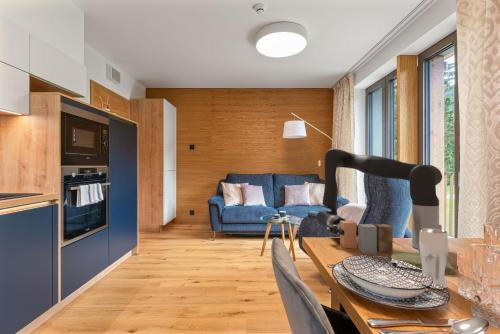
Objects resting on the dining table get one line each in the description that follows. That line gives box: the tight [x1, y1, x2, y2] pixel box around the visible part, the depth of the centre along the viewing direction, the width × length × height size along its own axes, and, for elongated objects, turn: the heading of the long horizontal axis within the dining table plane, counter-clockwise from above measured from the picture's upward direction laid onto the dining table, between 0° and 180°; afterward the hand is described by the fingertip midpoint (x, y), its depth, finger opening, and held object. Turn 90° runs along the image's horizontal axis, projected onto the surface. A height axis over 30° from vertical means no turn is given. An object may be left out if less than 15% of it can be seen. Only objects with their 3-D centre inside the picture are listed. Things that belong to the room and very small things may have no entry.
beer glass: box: [418, 228, 449, 288], centre depth 77 cm, size 7×7×15 cm
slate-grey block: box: [357, 223, 378, 254], centre depth 108 cm, size 5×5×10 cm
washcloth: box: [390, 251, 456, 275], centre depth 93 cm, size 13×18×3 cm
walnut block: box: [372, 223, 394, 254], centre depth 108 cm, size 5×5×10 cm
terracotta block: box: [339, 220, 358, 249], centre depth 115 cm, size 5×5×10 cm
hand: (350, 232), depth 112 cm, fingers closed on terracotta block, 5 cm apart
